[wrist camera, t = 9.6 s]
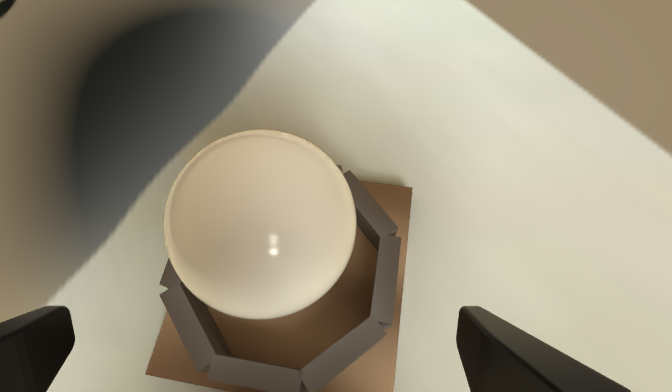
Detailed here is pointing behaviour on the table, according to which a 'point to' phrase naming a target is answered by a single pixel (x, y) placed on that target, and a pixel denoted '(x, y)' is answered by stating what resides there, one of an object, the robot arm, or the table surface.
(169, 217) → the lightbulb
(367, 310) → the bulb holder
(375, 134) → the table surface
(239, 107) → the table surface
